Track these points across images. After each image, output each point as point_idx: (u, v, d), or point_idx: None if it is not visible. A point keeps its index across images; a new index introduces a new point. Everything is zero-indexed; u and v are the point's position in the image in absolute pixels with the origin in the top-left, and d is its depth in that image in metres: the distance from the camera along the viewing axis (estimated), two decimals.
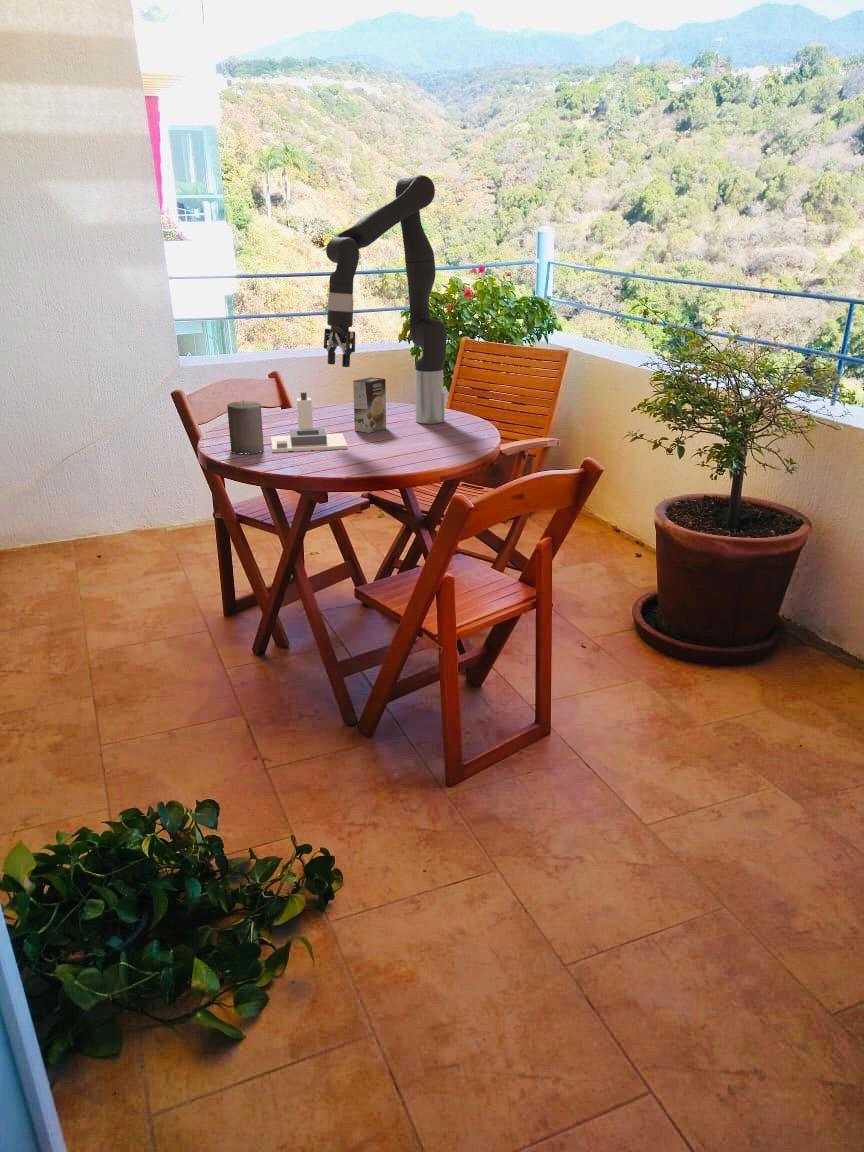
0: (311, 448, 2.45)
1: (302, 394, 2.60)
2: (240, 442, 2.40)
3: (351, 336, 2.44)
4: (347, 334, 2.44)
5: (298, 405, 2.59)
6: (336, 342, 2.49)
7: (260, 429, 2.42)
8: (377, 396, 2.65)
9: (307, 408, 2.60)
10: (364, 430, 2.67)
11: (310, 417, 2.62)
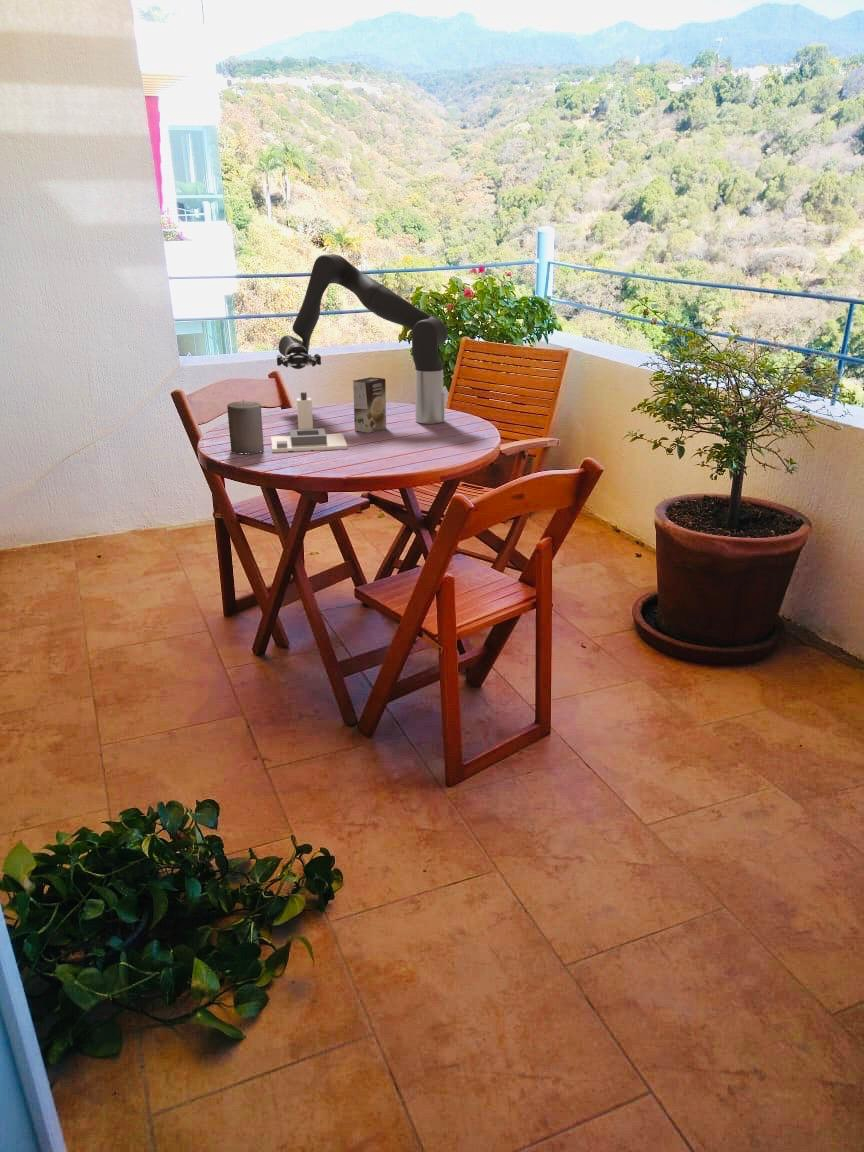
0: (311, 448, 2.45)
1: (302, 394, 2.60)
2: (240, 442, 2.40)
3: None
4: None
5: (298, 405, 2.59)
6: (298, 363, 2.73)
7: (260, 429, 2.42)
8: (377, 396, 2.65)
9: (307, 408, 2.60)
10: (364, 430, 2.67)
11: (310, 417, 2.62)
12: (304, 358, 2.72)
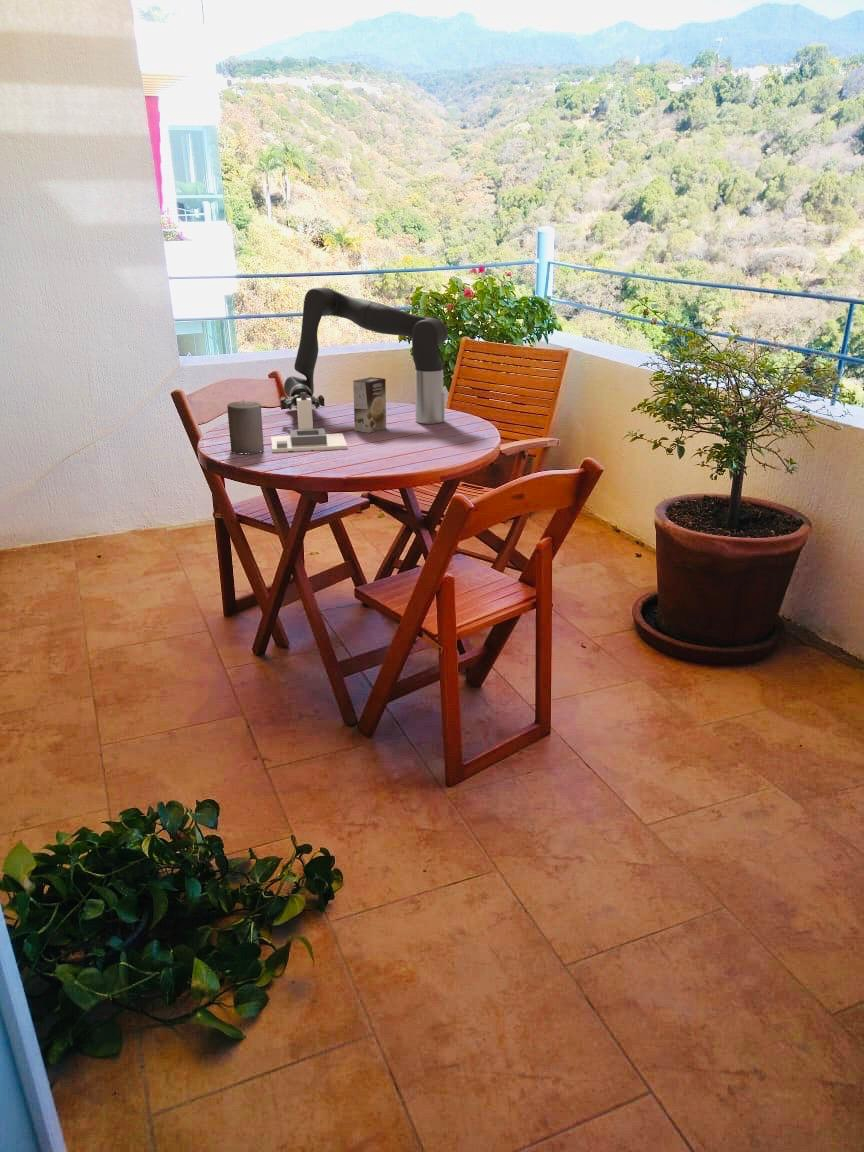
0: (311, 448, 2.45)
1: (302, 394, 2.60)
2: (240, 442, 2.40)
3: None
4: None
5: (298, 405, 2.59)
6: None
7: (260, 429, 2.42)
8: (377, 396, 2.65)
9: (307, 408, 2.60)
10: (364, 430, 2.67)
11: (310, 417, 2.62)
12: None
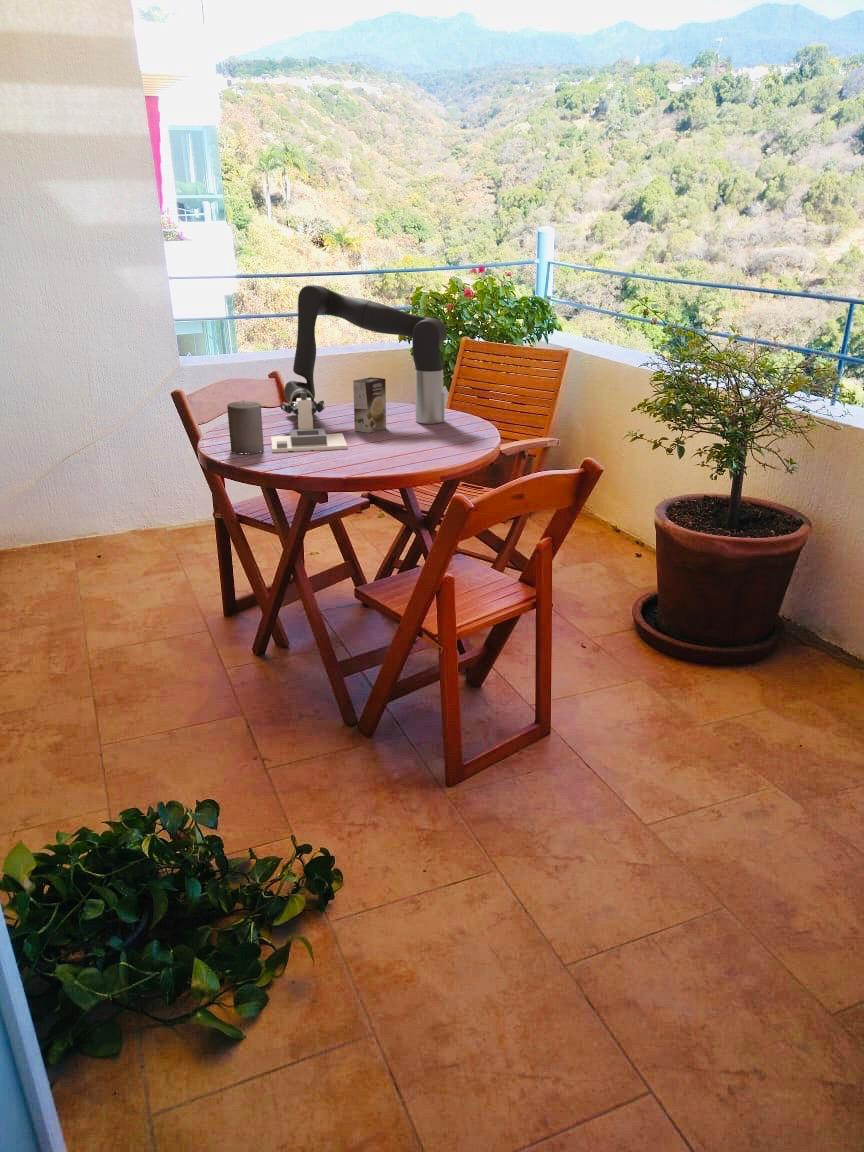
0: (311, 448, 2.45)
1: (302, 394, 2.60)
2: (240, 442, 2.40)
3: (283, 407, 2.67)
4: None
5: (298, 405, 2.59)
6: None
7: (260, 429, 2.42)
8: (377, 396, 2.65)
9: (307, 408, 2.60)
10: (364, 430, 2.67)
11: (310, 417, 2.62)
12: None
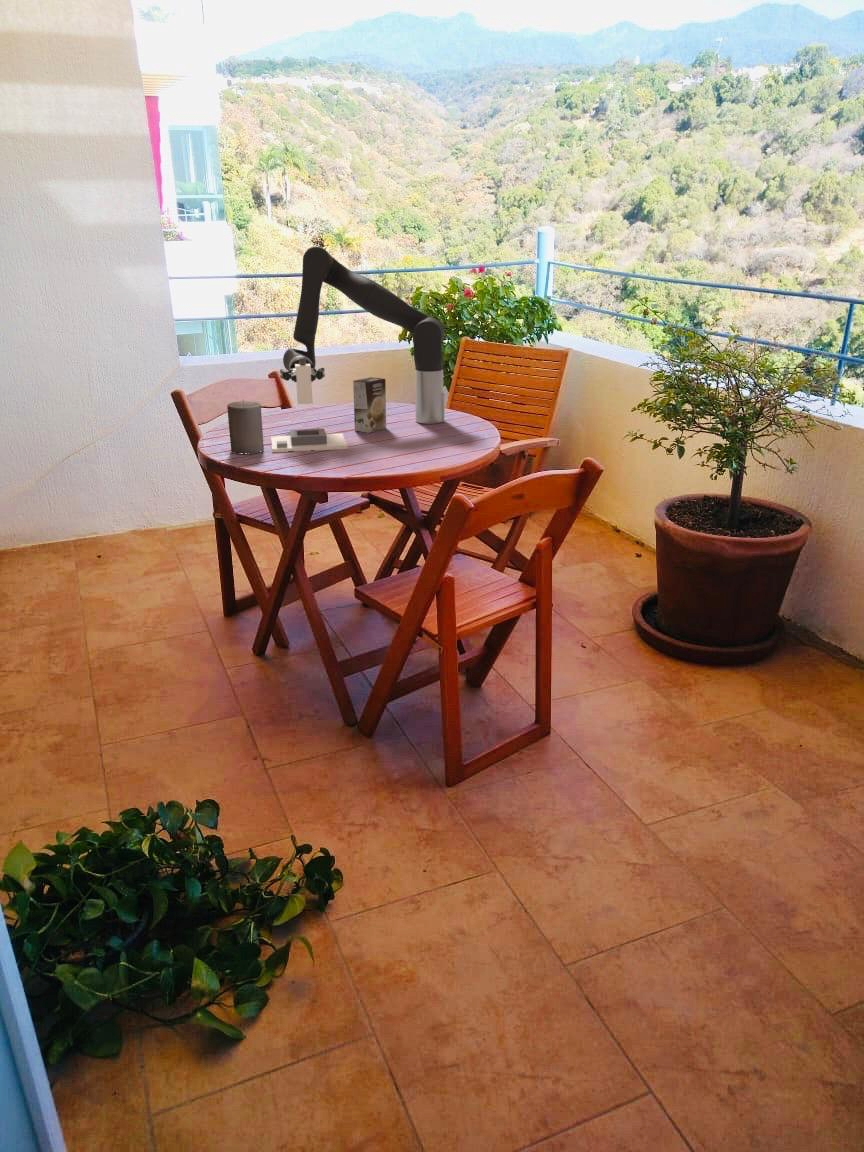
0: (311, 448, 2.45)
1: (301, 359, 2.43)
2: (240, 442, 2.40)
3: (281, 374, 2.51)
4: (282, 377, 2.52)
5: (296, 371, 2.43)
6: None
7: (260, 429, 2.42)
8: (377, 396, 2.65)
9: (306, 374, 2.44)
10: (364, 430, 2.67)
11: (309, 384, 2.45)
12: None
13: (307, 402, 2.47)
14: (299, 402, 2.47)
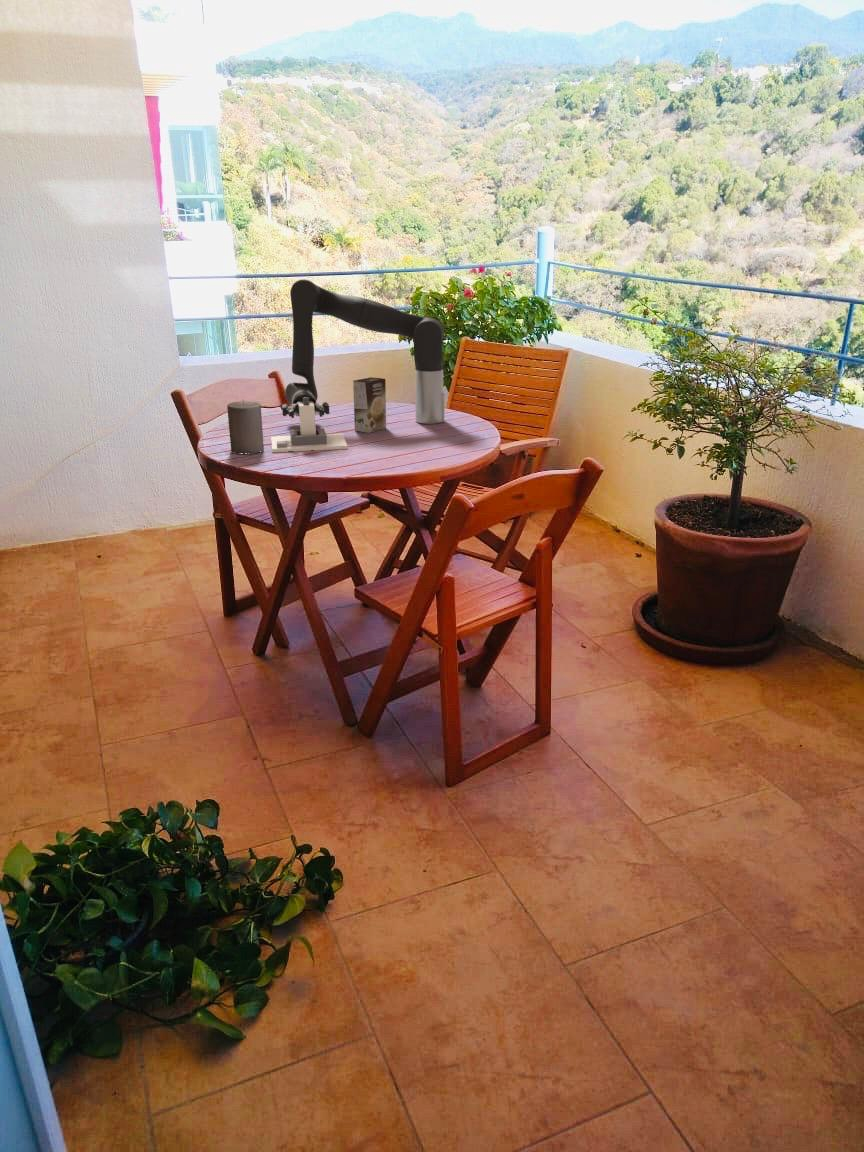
0: (311, 448, 2.45)
1: (304, 399, 2.47)
2: (240, 442, 2.40)
3: None
4: None
5: (300, 411, 2.46)
6: None
7: (260, 429, 2.42)
8: (377, 396, 2.65)
9: (309, 414, 2.47)
10: (364, 430, 2.67)
11: (313, 423, 2.49)
12: None
13: None
14: None
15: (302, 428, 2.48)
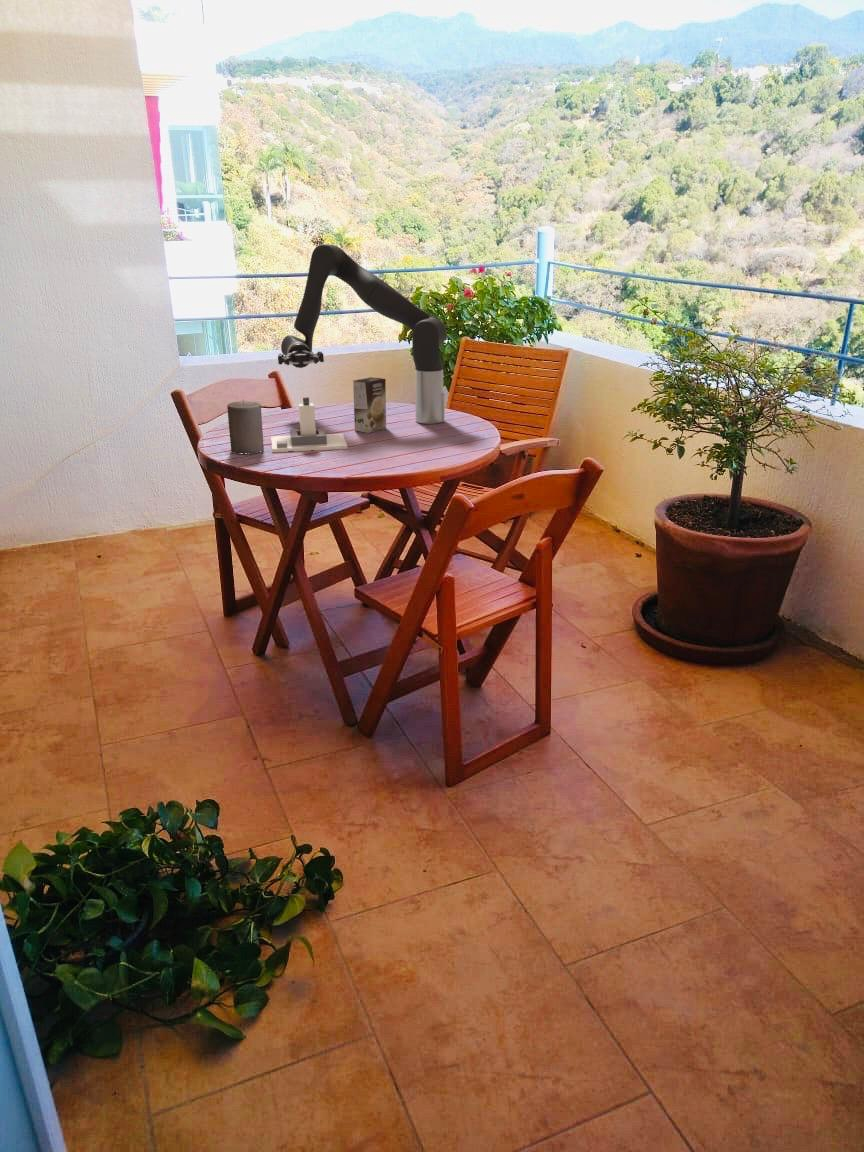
0: (311, 448, 2.45)
1: (304, 399, 2.47)
2: (240, 442, 2.40)
3: None
4: None
5: (300, 411, 2.46)
6: (300, 361, 2.64)
7: (260, 429, 2.42)
8: (377, 396, 2.65)
9: (309, 414, 2.47)
10: (364, 430, 2.67)
11: (313, 423, 2.49)
12: (306, 356, 2.63)
13: None
14: None
15: (302, 428, 2.48)
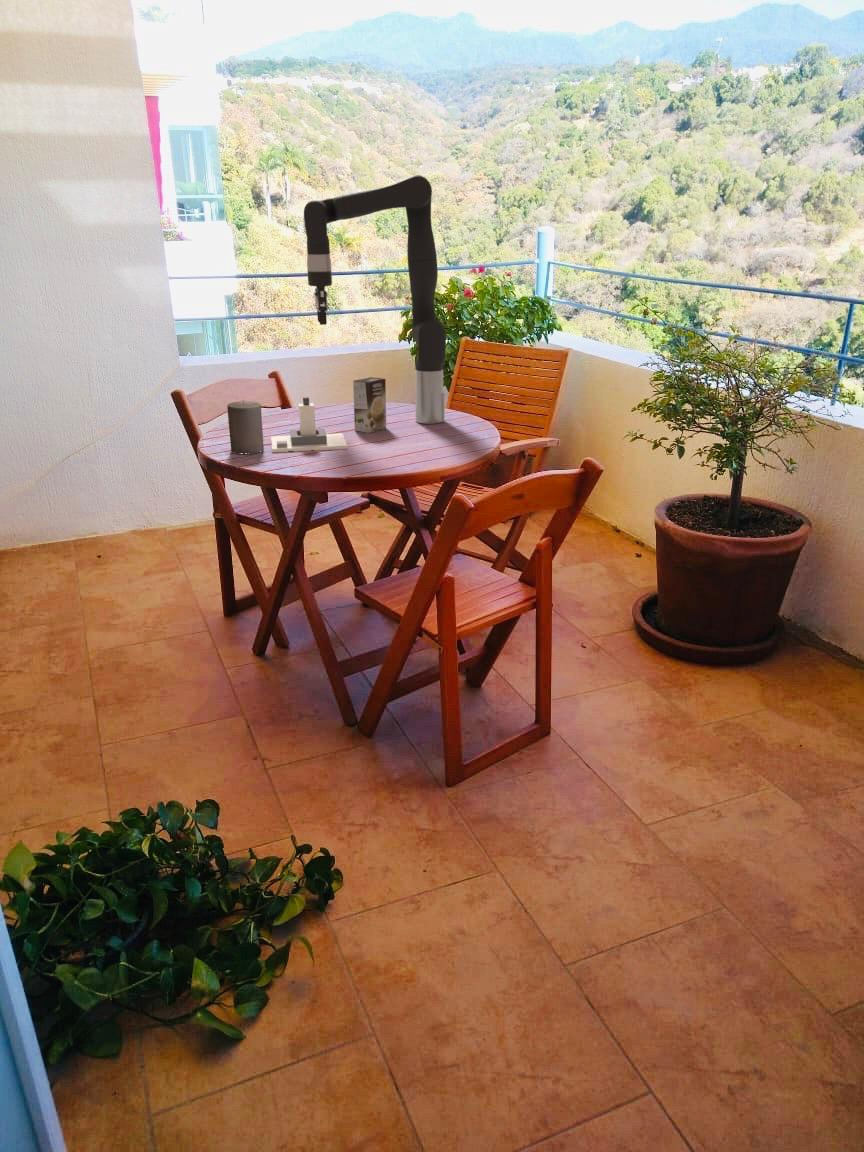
0: (311, 448, 2.45)
1: (304, 399, 2.47)
2: (240, 442, 2.40)
3: (322, 295, 2.59)
4: (318, 293, 2.59)
5: (300, 411, 2.46)
6: None
7: (260, 429, 2.42)
8: (377, 396, 2.65)
9: (309, 414, 2.47)
10: (364, 430, 2.67)
11: (313, 423, 2.49)
12: None
13: None
14: None
15: (302, 428, 2.48)
